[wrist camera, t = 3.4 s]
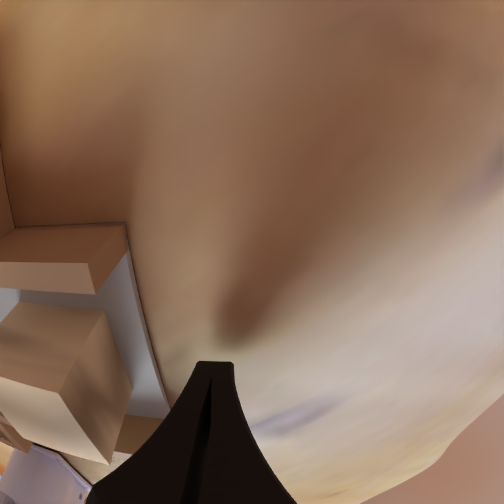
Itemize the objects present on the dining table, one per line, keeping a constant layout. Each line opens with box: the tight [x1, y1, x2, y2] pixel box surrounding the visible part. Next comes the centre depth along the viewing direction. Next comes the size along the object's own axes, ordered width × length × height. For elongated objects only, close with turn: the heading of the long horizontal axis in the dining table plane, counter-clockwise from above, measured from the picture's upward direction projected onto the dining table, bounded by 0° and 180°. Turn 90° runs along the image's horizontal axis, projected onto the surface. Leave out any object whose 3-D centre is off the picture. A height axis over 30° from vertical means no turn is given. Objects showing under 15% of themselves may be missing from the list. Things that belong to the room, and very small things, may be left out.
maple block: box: [0, 302, 133, 465], centre depth 11 cm, size 5×5×4 cm
